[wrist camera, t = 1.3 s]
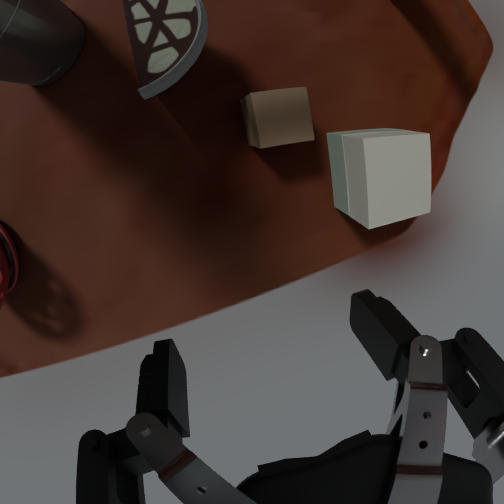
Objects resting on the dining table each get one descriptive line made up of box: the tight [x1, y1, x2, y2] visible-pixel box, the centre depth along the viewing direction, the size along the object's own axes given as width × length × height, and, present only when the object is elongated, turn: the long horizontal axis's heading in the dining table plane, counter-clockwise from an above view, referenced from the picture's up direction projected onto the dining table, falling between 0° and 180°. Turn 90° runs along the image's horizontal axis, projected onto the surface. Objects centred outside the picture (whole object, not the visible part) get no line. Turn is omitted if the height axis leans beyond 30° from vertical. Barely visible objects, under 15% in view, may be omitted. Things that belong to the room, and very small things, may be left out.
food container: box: [123, 0, 208, 100], centre depth 18 cm, size 12×6×10 cm, turn 13°
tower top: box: [342, 130, 431, 229], centre depth 26 cm, size 9×9×4 cm
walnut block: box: [240, 87, 315, 149], centre depth 25 cm, size 5×5×6 cm
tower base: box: [326, 128, 404, 216], centre depth 30 cm, size 9×9×4 cm
